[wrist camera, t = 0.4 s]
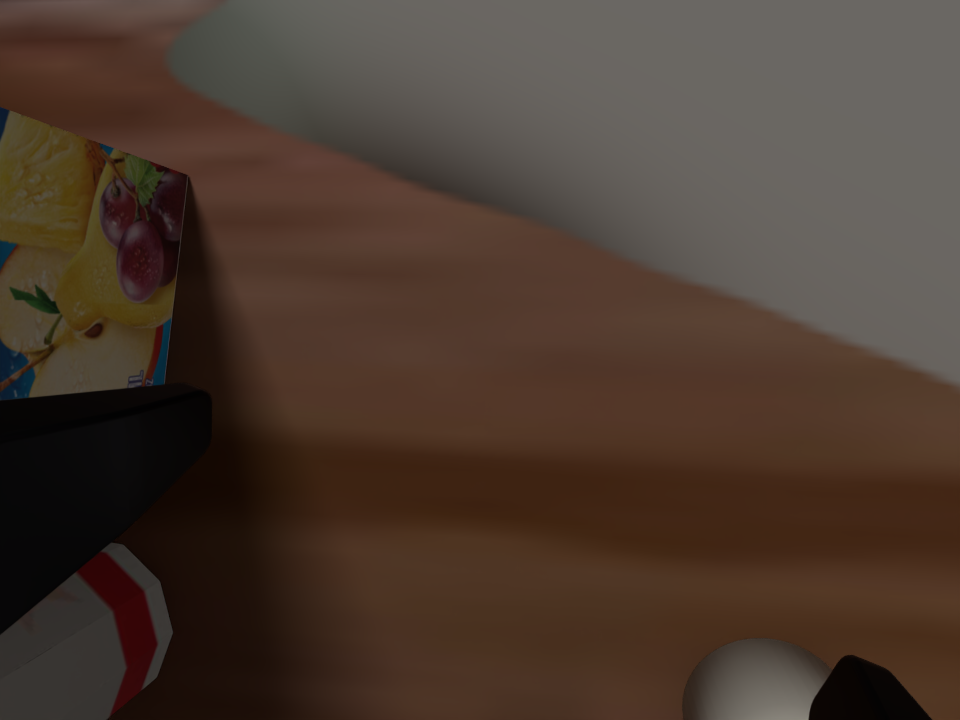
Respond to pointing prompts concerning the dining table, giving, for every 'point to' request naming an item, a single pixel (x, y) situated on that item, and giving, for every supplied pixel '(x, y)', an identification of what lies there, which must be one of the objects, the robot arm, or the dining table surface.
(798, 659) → the grey rounded cylinder
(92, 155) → the juice carton
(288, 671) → the dining table surface
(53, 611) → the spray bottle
